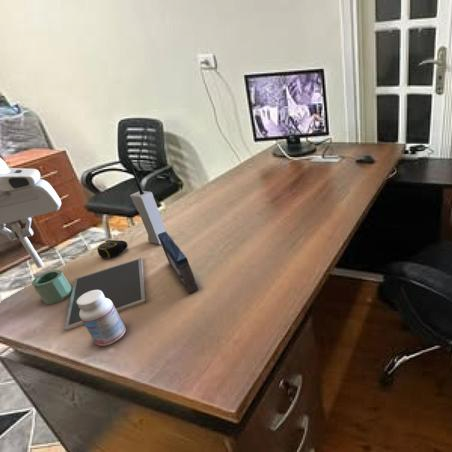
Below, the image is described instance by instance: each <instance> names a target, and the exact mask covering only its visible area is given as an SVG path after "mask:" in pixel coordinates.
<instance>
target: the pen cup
mask: <svg viewBox="0 0 452 452" xmlns="http://www.w3.org/2000/svg"><path fill="white" fill-rule="evenodd" d="M31 285H32V287H33V289H34V290H35V291H36V293H37V294H38V296H39V297H40V299H41V301H43V303H44V304H46V305H52V304H57V303H59V302H62V301H64V300H66V299H67V298H68V297H70V296H71V294H72V289H73V286H71V284H70V282H69V281H68V279H67V277H66V276H65V274H64V272H63V271H62V270H61V269H54V270H49V271H46V272H43V273H42V274H40V275H37V276H36V277H35V278H34V279H33V280H32V281H31Z"/></svg>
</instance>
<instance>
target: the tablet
mask: <svg viewBox="0 0 452 452" xmlns="http://www.w3.org/2000/svg"><path fill="white" fill-rule="evenodd" d="M92 290H100V291H102V293H103V294H104V296H105V298H108V299H110V300H111V301H112V303H113V305H114V306H115V308H116V310H117V312H118V313H120V312H123V311H126V310H129V309H131V308H134V307H137V306H140V305H142V304H143V305H144V304H146V303H147V295H146V284H145V275H144V265H143V258H142V257H140V258H136V259H133V260H130V261H126V262H124V263H121V264H120V263H119V264H117V265H115V266H111V267H108V268H105V269H102V270H98V271H95V272H92V273H89V274H86V275H82V276H79V277H76V278H74V281H73V285H72V293H71V294H70V299H69V304H68V308H67V313H66V318H65V323H64V328H63V329H64V330H65V332H68V331H70V330H73V329H76V328H78V327H81V326H83V325H84V323H83V322H82V320H81V318H80V316H79V312H80V308H79V306H78V304H77V299H78V298H79V297H80V296H81V295H83V294H85V293H87V292H89V291H92ZM84 326H85V325H84Z"/></svg>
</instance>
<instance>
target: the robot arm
mask: <svg viewBox="0 0 452 452" xmlns="http://www.w3.org/2000/svg"><path fill="white" fill-rule="evenodd" d="M61 206H62V200H61V198H60V196H59V194H58V193H57V191H56V190H55V189H54V188H53V186H52V185H51V183H50V182H48V181H47V180H45V179H43V178H41V172H40V171H39V170H38V169H37V168H25V167H23V168H20V167H9V166H8V165H7V163H6V162H5V159H3V158H2V157H0V234H2V235H4V236H7V238H8V240H9V241H10V242H13V241H16V240H20V239H19V238H18V236H17V235H16V233H15V231H14V230H11V229H9V228H8V227H6V225H7V224H9V223H10V222H14V221H17V222H18V221H21V224H25V227H23V228H22V231H21V232H22V234H24V235H23V236H24V237H27V238H28V237H32V236H33V235H34V230H33V229H32V227H31V226H32V219H33V218H34V217H38V216H41V215H46V214H50V213H54V212H58V211H59V210H60V208H61Z"/></svg>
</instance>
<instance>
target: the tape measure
mask: <svg viewBox="0 0 452 452" xmlns="http://www.w3.org/2000/svg"><path fill="white" fill-rule="evenodd" d="M128 246H129V245H128V243H127V241H126V240H119V239H118V240H117V239H107V240H106V241H105V242H103V243H100V244H99V245H98V247H97V253H98V255H99V257H100V258H102V259H110V258H111V259H112V258H114V257H117V256H119V255H121V254H122V253H123V252H124V251H125V250H127V248H128Z"/></svg>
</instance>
